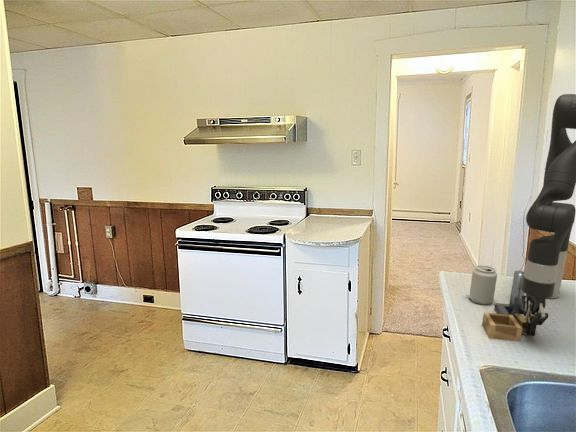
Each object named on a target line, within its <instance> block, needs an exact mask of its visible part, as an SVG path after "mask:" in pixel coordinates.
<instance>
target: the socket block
mask: <svg viewBox="0 0 576 432" xmlns="http://www.w3.org/2000/svg"><path fill="white" fill-rule="evenodd" d="M493 308H494V309H493V311H494V313H495V314H505V315H513V316H514V314H511V313H508V309H509V303H501V302H500V303H499V302H494V307H493ZM521 314H523V306H522V312H521Z"/></svg>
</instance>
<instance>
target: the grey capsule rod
mask: <svg viewBox="0 0 576 432" xmlns="http://www.w3.org/2000/svg"><path fill="white" fill-rule="evenodd" d="M523 276H524V271H522V270H514V272H513V279H512V284H511V285H512V286H511V292H510V295H509V296H510V297H509V303H508V304H509V309H508V313H511V314H515V313H517V314H521V312H522V306H523V304H522V295H525V294H526V293H524V292H523V291H522V282H523Z"/></svg>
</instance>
